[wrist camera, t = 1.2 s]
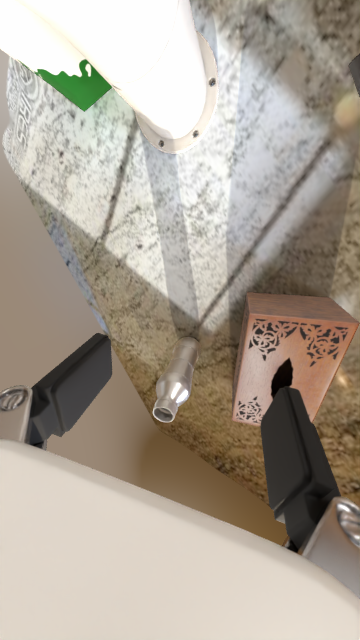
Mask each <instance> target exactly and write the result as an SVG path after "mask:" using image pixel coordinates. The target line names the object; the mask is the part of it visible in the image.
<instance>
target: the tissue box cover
mask: <svg viewBox="0 0 360 640" xmlns="http://www.w3.org/2000/svg"><path fill="white" fill-rule="evenodd" d="M359 324H360V323H359V322H358V321H357V320H356V319H354V318H353V317H352V316H351V315H350V314H349V313H347V312H346V311H345V310H344V309H343V308H342V307H340V306H339V305H338V304H337V303H336V302H335V301H333V300H332V299H331V298H328V297H313V296H298V295H283V294H268V293H254V292H247V295H246V302H245V308H244V315H243V321H242V328H241V335H240V341H239V348H238V354H237V361H236V367H235V374H234V381H233V392H232V421H237V422H241V423H246V424H250V425H255V426H260V425H261V420H262V418H263V416H264V414H265V413H266V411H267V409H268V408H269V406H270V404H271V402H272V401H273V399H274V397H275V396H276V394H277V392H278V390H279V389H280V388H284V387H285V386H287V387H291V388H295V389H298V390H299V391H300V393H301V396H302V399H303V402H304V404H305V407H306V410H307V413H308V415H309V418H310V421H311V422H312V423H313V421H314V419H315V417H316V415H317V413H318V411H319V408H320V406H321V404H322V402H323V400H324V398H325V396H326V394H327V392H328V389H329V387H330V385H331V383H332V381H333V379H334V377H335V375H336V372H337V370H338V368H339V366H340V364H341V362H342V360H343V358H344V356H345V353H346V351H347V349H348V347H349V345H350V343H351V341H352V339H353V336H354V334H355V332H356V330H357V328H358V326H359Z"/></svg>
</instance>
